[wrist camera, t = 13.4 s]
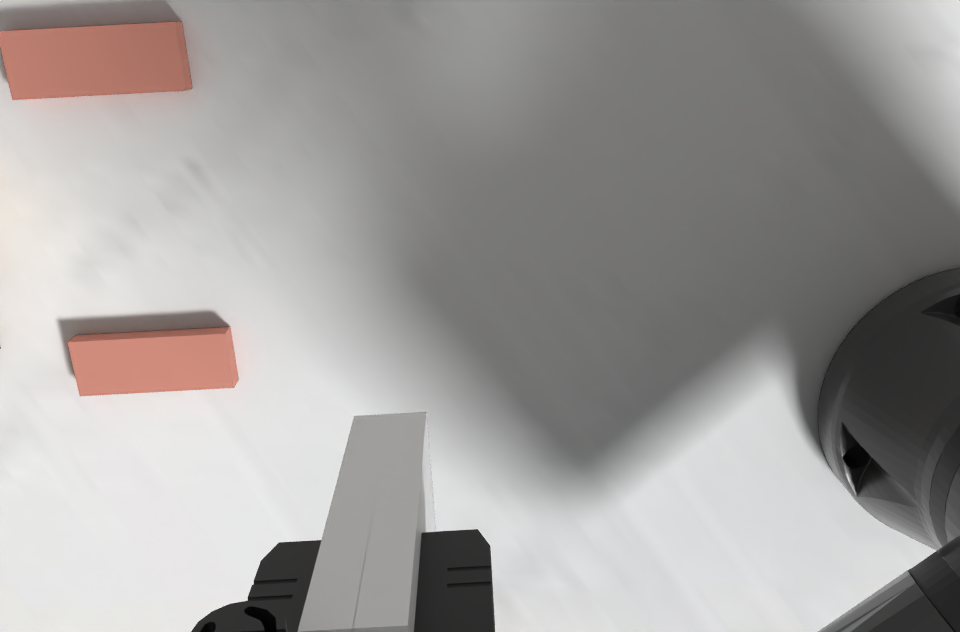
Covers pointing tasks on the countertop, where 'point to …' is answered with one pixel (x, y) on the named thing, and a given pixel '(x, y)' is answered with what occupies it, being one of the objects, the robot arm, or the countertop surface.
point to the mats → (104, 71)
